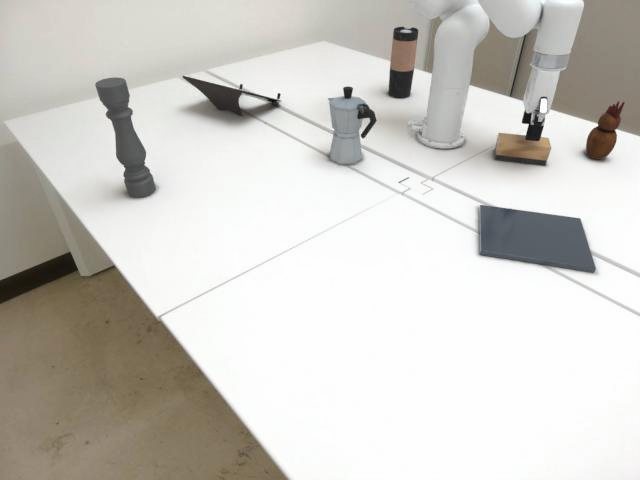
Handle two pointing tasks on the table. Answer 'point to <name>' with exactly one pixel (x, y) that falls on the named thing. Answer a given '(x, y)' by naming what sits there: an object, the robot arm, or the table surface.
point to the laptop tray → (225, 95)
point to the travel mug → (402, 61)
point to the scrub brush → (521, 149)
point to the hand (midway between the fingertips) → (530, 131)
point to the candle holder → (126, 137)
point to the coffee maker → (348, 127)
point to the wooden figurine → (604, 133)
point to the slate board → (534, 238)
